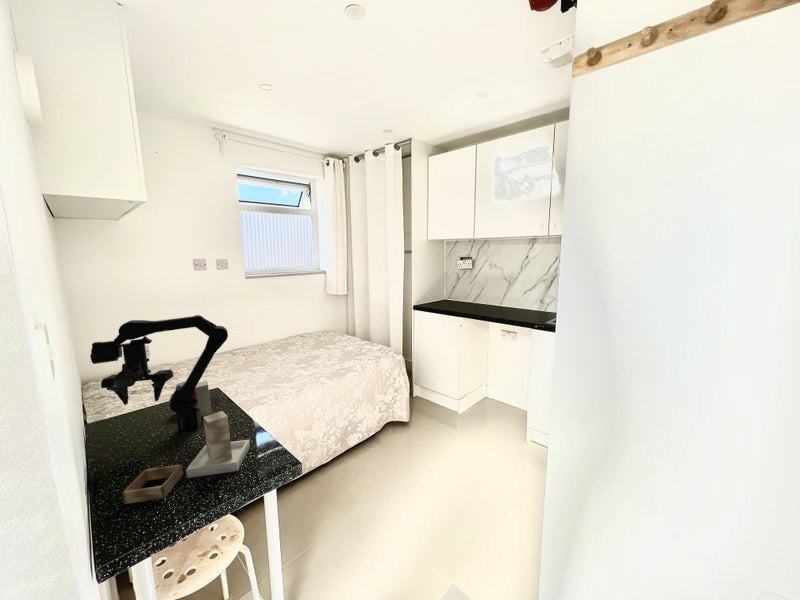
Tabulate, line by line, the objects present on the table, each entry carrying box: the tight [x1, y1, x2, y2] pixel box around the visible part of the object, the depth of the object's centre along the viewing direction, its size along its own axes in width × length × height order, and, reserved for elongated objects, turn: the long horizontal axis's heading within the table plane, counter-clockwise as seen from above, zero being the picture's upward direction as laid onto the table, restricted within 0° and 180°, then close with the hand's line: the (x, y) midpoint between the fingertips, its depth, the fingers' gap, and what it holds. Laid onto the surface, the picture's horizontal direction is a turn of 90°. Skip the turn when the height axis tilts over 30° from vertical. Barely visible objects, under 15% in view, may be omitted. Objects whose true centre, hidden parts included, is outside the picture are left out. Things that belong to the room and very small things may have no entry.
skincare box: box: [195, 380, 213, 418], centre depth 126 cm, size 6×4×12 cm
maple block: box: [202, 410, 232, 464], centre depth 93 cm, size 5×5×13 cm
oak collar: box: [121, 464, 184, 505], centre depth 83 cm, size 9×9×3 cm
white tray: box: [185, 439, 251, 479], centre depth 93 cm, size 13×12×2 cm
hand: (141, 402), depth 107 cm, fingers open, 9 cm apart
